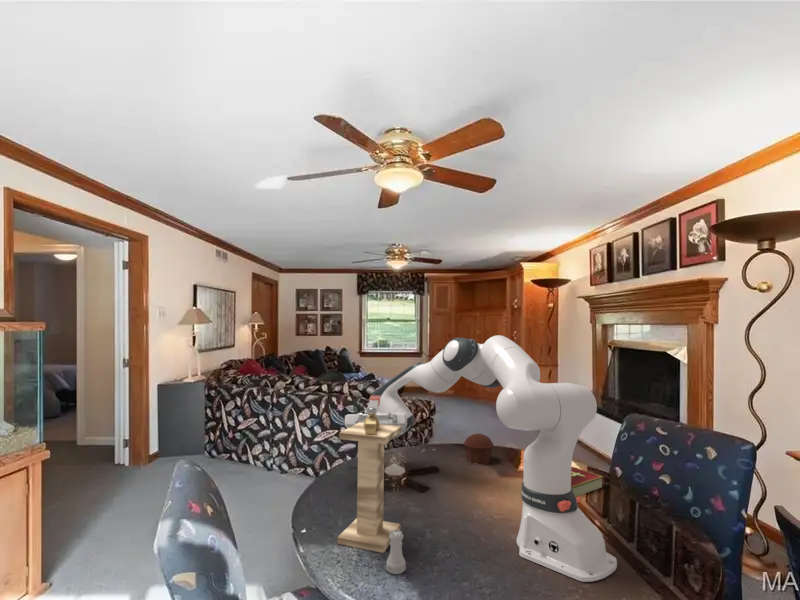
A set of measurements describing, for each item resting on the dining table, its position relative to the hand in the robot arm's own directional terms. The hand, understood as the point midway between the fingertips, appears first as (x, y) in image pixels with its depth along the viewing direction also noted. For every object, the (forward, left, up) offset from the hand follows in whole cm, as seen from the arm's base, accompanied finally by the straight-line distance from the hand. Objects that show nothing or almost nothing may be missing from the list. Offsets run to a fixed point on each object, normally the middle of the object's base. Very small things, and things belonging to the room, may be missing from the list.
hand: (375, 415), depth 137 cm
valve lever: (-15, +10, +6) cm, 19 cm away
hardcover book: (-30, -56, -25) cm, 68 cm away
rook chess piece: (-37, +18, -25) cm, 48 cm away
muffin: (+5, -51, -25) cm, 57 cm away
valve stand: (-21, +15, -24) cm, 36 cm away
